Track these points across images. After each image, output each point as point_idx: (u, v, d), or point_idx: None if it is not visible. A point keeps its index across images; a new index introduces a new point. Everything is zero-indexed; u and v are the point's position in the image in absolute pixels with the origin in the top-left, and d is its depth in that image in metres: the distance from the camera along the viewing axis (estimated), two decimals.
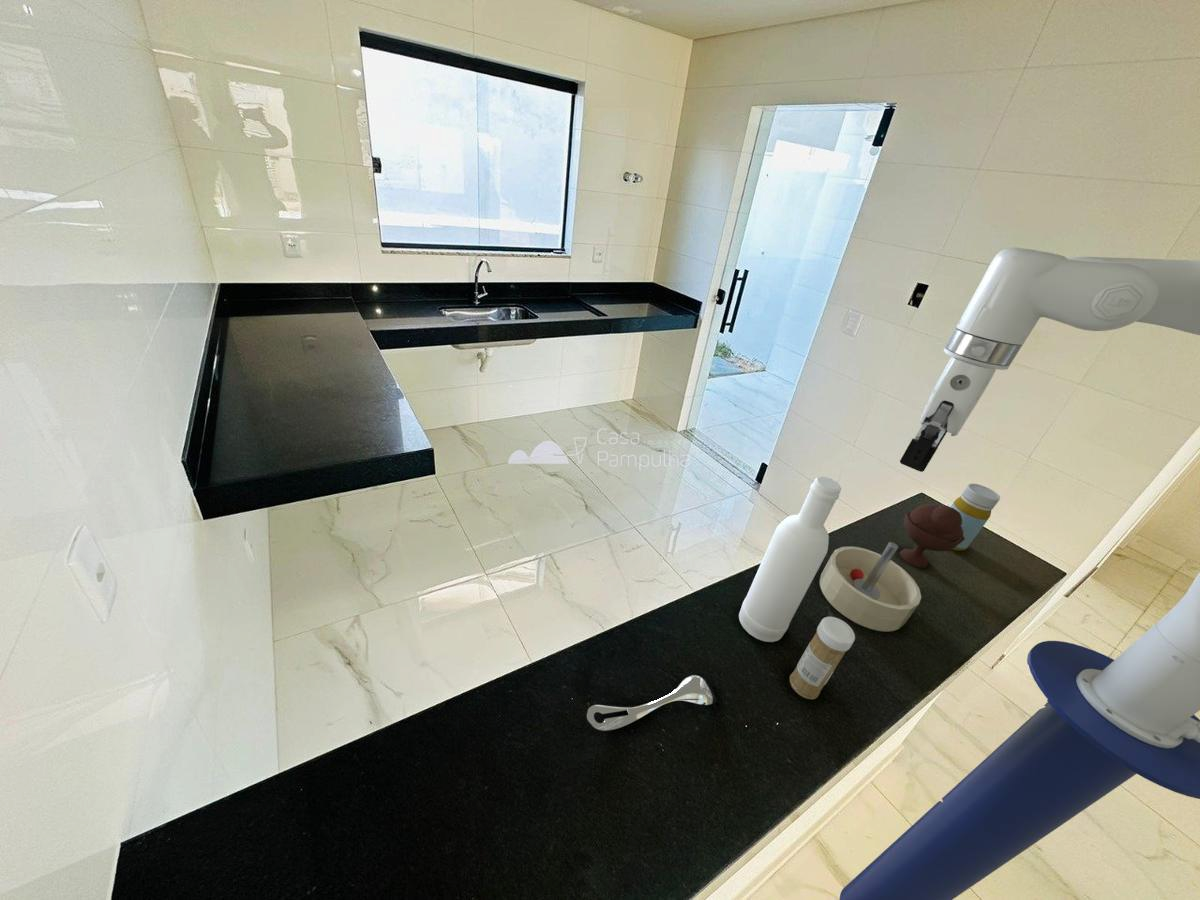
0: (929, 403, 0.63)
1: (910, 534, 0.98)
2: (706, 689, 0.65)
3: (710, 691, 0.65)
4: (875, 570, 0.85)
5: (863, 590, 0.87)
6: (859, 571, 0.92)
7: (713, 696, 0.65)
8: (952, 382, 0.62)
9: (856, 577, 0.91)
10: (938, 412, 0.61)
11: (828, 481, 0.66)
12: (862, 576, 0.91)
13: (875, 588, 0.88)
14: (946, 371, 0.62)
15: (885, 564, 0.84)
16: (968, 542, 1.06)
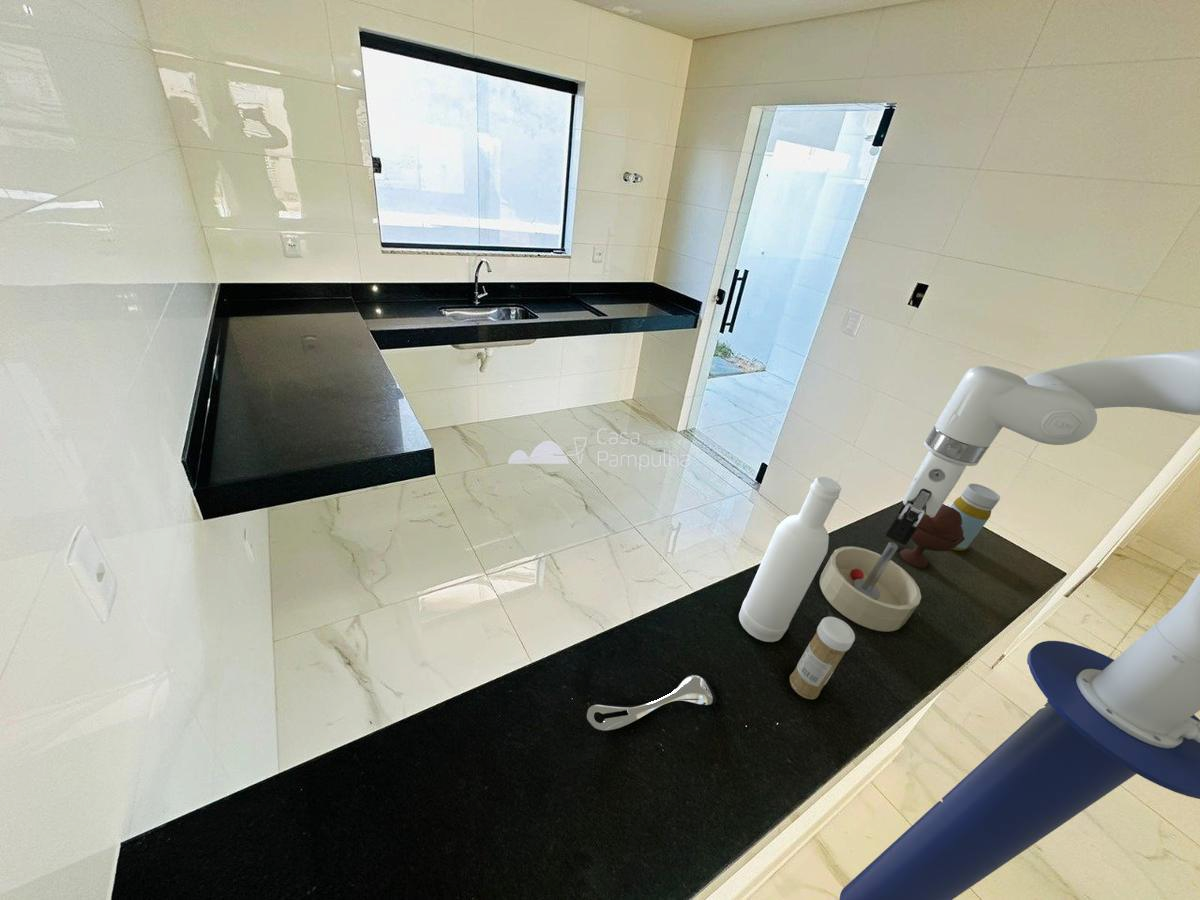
0: (911, 489, 0.74)
1: None
2: (706, 689, 0.65)
3: (710, 691, 0.65)
4: (875, 570, 0.85)
5: (863, 590, 0.87)
6: (859, 571, 0.92)
7: (713, 696, 0.65)
8: (930, 473, 0.72)
9: (856, 577, 0.91)
10: (918, 499, 0.72)
11: (828, 481, 0.66)
12: (862, 576, 0.91)
13: (875, 588, 0.88)
14: (925, 464, 0.72)
15: (885, 564, 0.84)
16: (968, 542, 1.06)
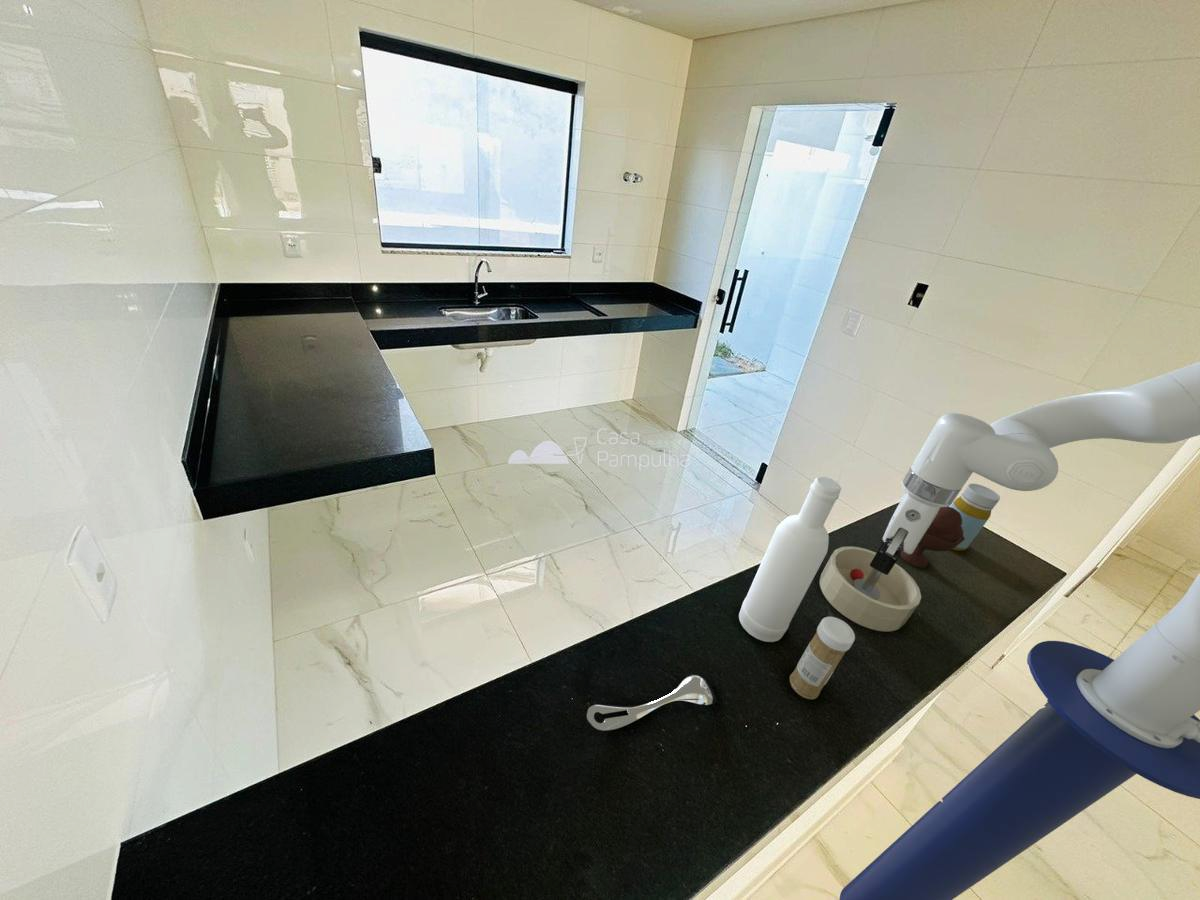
0: (889, 527, 0.78)
1: None
2: (706, 689, 0.65)
3: (710, 691, 0.65)
4: (875, 570, 0.85)
5: (863, 590, 0.87)
6: (859, 571, 0.92)
7: (713, 696, 0.65)
8: (907, 513, 0.76)
9: (856, 577, 0.91)
10: (892, 543, 0.78)
11: (828, 481, 0.66)
12: (862, 576, 0.91)
13: (875, 588, 0.88)
14: (902, 504, 0.76)
15: None
16: (968, 542, 1.06)
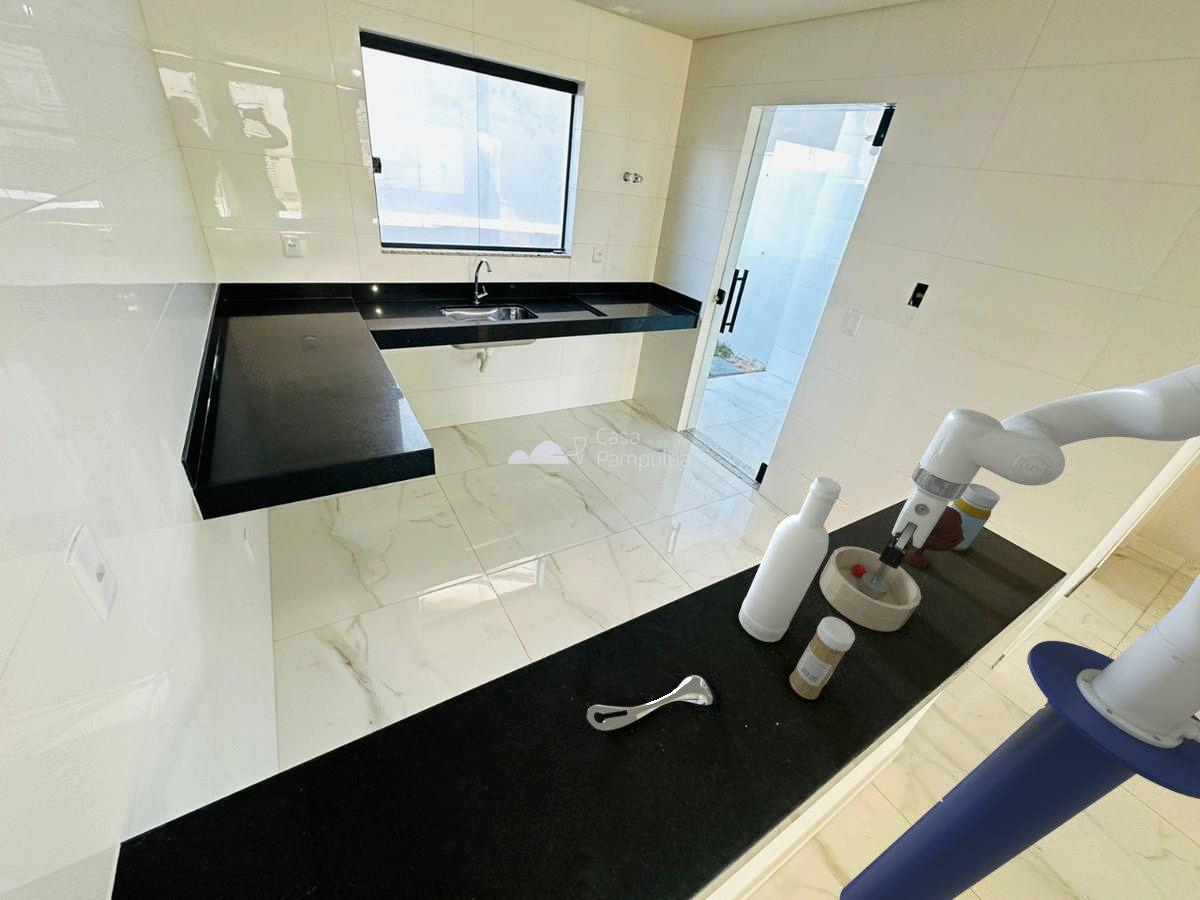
0: (898, 521, 0.79)
1: None
2: (706, 689, 0.65)
3: (710, 691, 0.65)
4: (884, 564, 0.87)
5: (873, 584, 0.89)
6: (855, 566, 0.93)
7: (713, 696, 0.65)
8: (916, 507, 0.77)
9: (861, 570, 0.92)
10: (901, 537, 0.79)
11: (828, 481, 0.66)
12: (861, 566, 0.93)
13: (883, 581, 0.90)
14: (911, 498, 0.77)
15: None
16: (968, 542, 1.06)
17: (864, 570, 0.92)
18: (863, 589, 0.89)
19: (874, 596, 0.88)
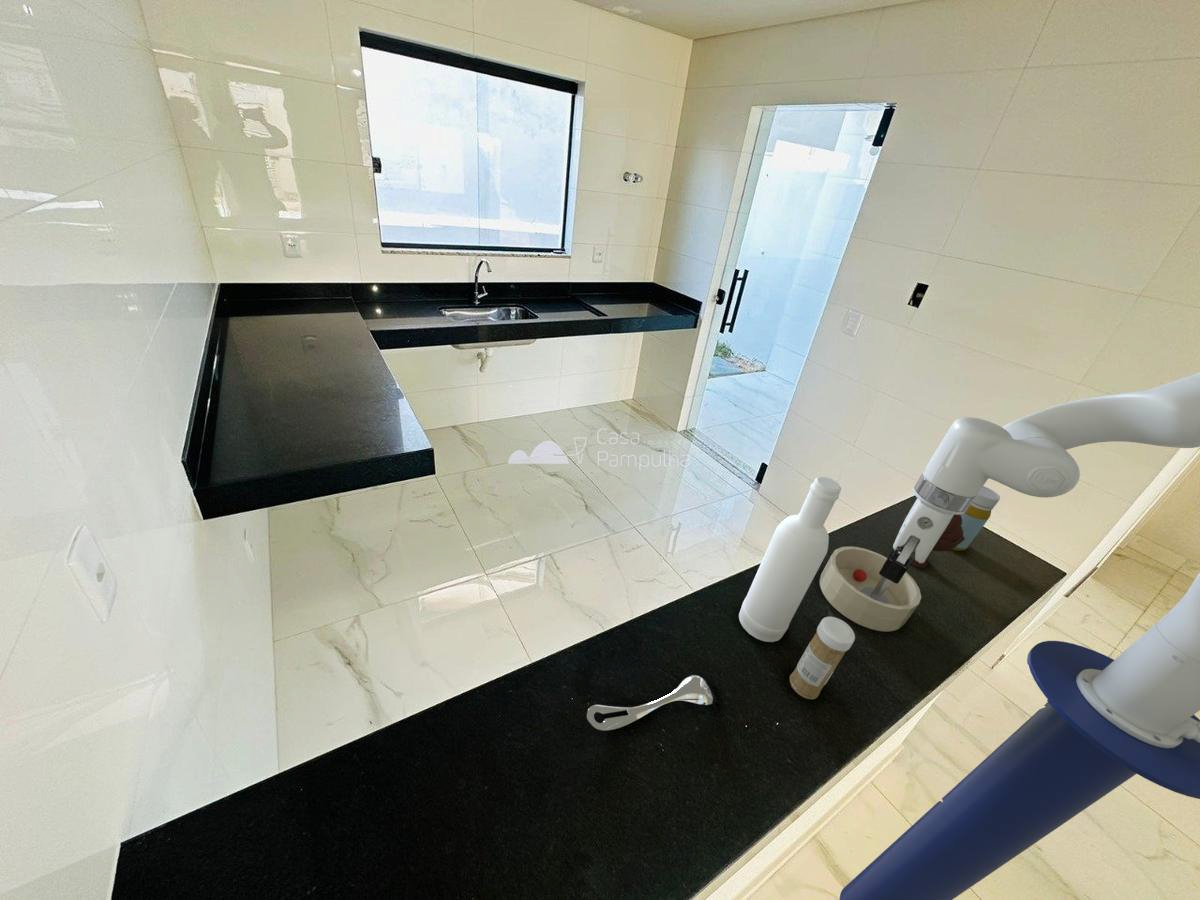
0: (900, 535, 0.75)
1: None
2: (706, 689, 0.65)
3: (710, 691, 0.65)
4: (885, 578, 0.83)
5: None
6: (855, 573, 0.92)
7: (713, 696, 0.65)
8: (919, 520, 0.73)
9: (859, 580, 0.91)
10: (903, 551, 0.75)
11: (828, 481, 0.66)
12: (861, 574, 0.91)
13: (883, 596, 0.86)
14: (914, 511, 0.73)
15: None
16: (968, 542, 1.06)
17: (863, 579, 0.91)
18: None
19: None
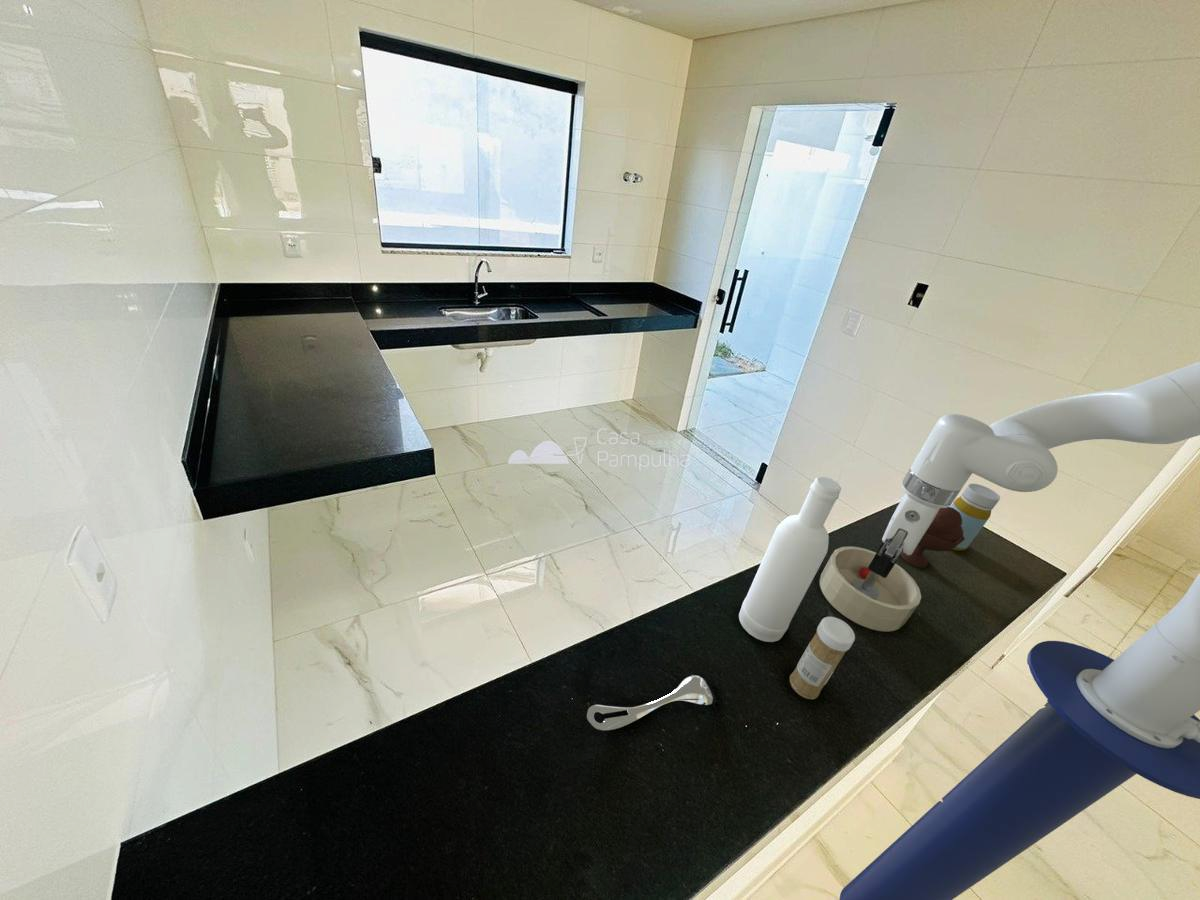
0: (889, 528, 0.78)
1: None
2: (706, 689, 0.65)
3: (710, 691, 0.65)
4: None
5: (863, 590, 0.87)
6: None
7: (713, 696, 0.65)
8: (906, 513, 0.76)
9: (867, 571, 0.92)
10: (892, 543, 0.77)
11: (827, 481, 0.66)
12: None
13: (874, 587, 0.89)
14: (902, 505, 0.76)
15: None
16: (968, 542, 1.06)
17: None
18: None
19: None
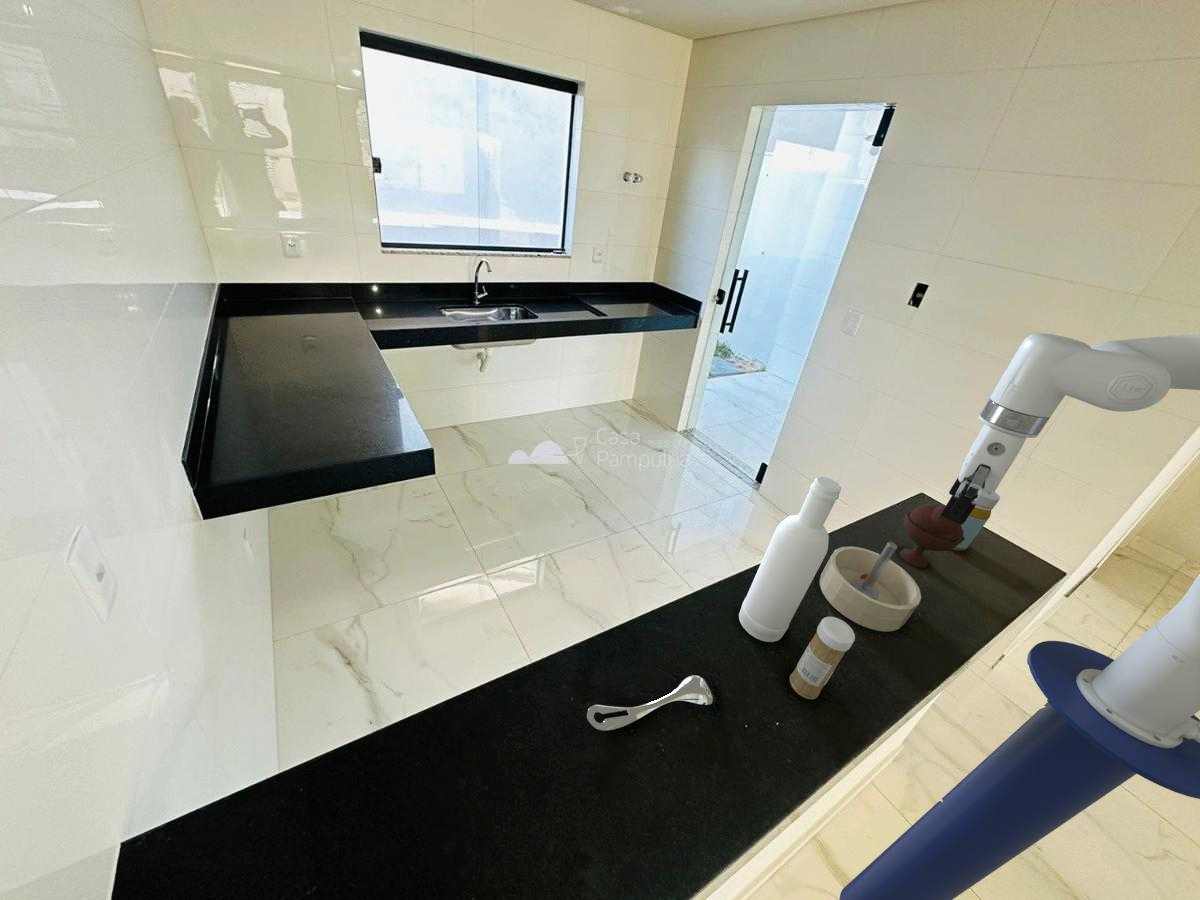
0: (967, 465, 0.71)
1: (910, 534, 0.98)
2: (706, 689, 0.65)
3: (710, 691, 0.65)
4: (875, 570, 0.85)
5: (863, 590, 0.87)
6: None
7: (713, 696, 0.65)
8: (988, 447, 0.70)
9: None
10: (977, 475, 0.69)
11: (827, 481, 0.66)
12: None
13: (874, 587, 0.89)
14: (982, 438, 0.70)
15: (885, 564, 0.84)
16: (968, 542, 1.06)
17: None
18: None
19: None
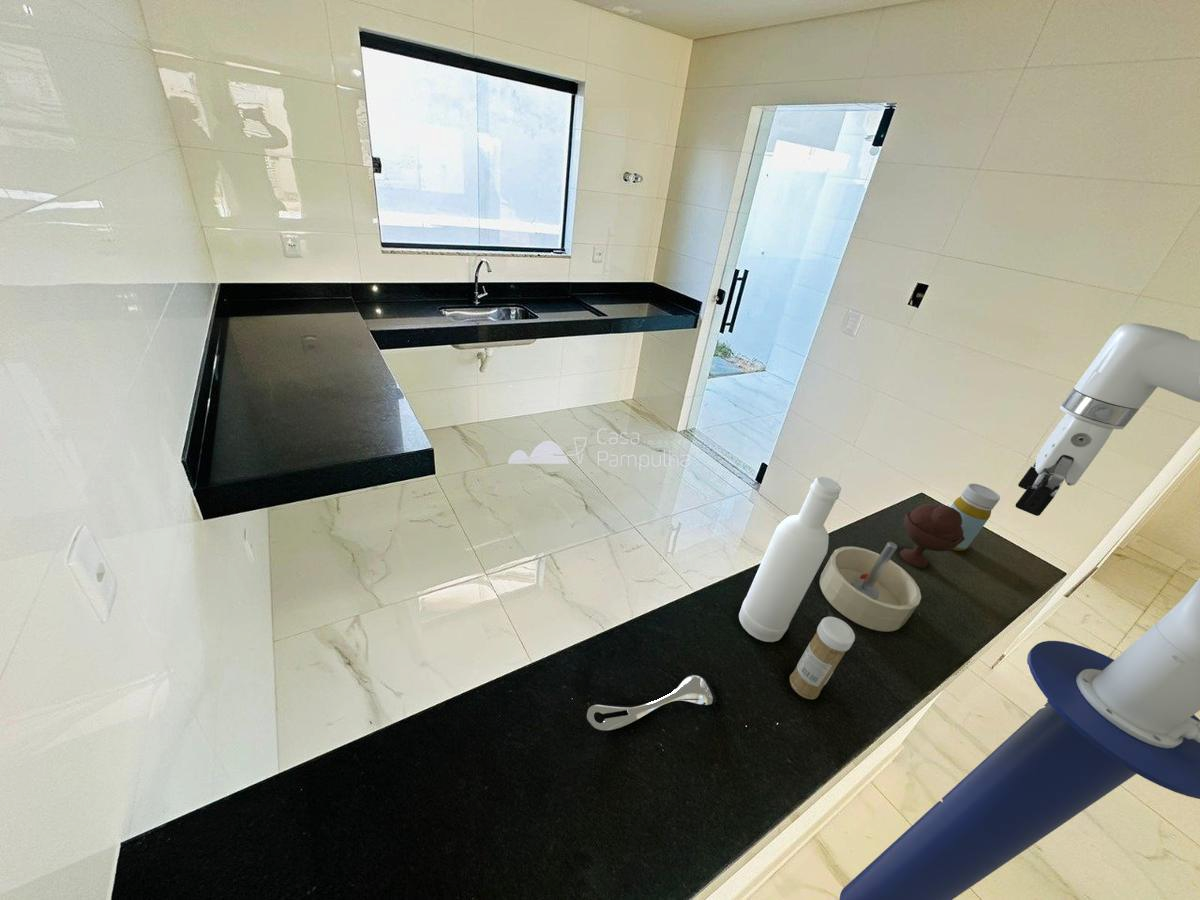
0: (1048, 456, 0.71)
1: (910, 534, 0.98)
2: (706, 689, 0.65)
3: (710, 691, 0.65)
4: (875, 570, 0.85)
5: (863, 590, 0.87)
6: None
7: (713, 696, 0.65)
8: (1071, 438, 0.69)
9: None
10: (1059, 465, 0.69)
11: (827, 481, 0.66)
12: None
13: (874, 587, 0.89)
14: (1066, 429, 0.69)
15: (885, 564, 0.84)
16: (968, 542, 1.06)
17: None
18: None
19: None
